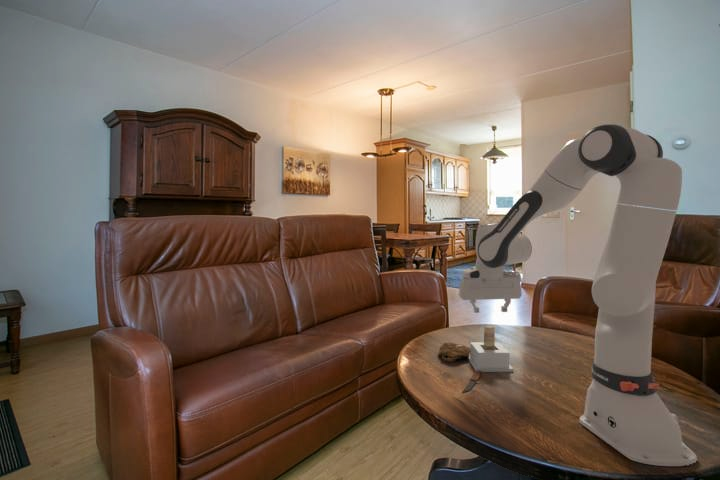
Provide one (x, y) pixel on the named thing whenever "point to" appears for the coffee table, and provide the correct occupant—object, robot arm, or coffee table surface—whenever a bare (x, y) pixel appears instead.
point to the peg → (489, 337)
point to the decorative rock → (453, 351)
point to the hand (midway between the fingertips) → (490, 312)
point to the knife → (473, 381)
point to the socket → (489, 358)
